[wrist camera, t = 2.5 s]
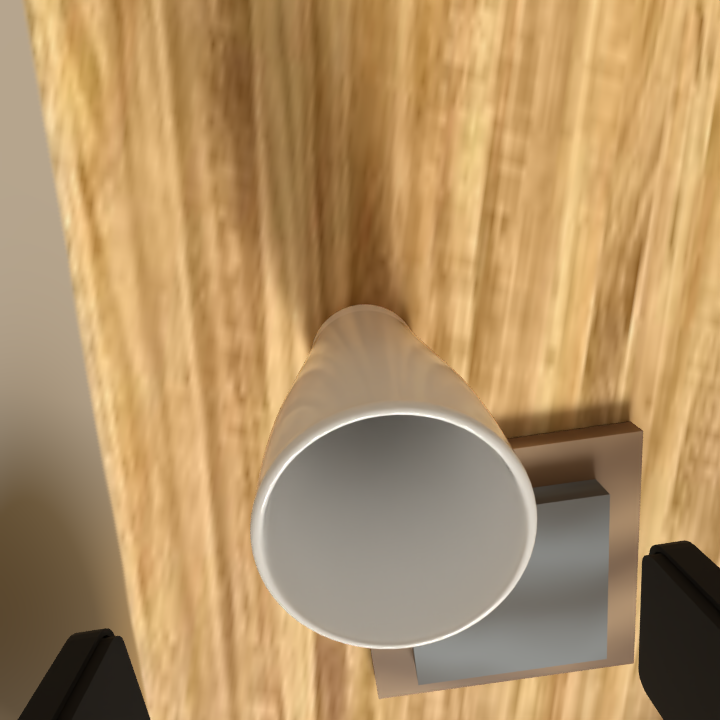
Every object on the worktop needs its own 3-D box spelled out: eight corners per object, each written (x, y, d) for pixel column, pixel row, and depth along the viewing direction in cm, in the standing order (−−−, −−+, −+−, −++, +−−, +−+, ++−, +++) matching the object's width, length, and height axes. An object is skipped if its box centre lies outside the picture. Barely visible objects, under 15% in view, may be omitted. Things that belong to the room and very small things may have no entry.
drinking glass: (456, 351, 26) (603, 532, 11) (364, 437, 27) (393, 698, 13) (363, 258, 24) (398, 333, 10) (270, 354, 25) (182, 546, 11)
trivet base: (341, 461, 27) (342, 488, 25) (630, 421, 27) (660, 443, 25) (377, 681, 32) (380, 722, 30) (623, 647, 32) (647, 685, 30)
